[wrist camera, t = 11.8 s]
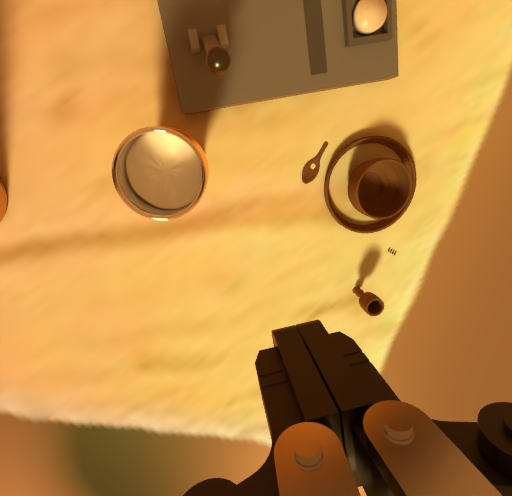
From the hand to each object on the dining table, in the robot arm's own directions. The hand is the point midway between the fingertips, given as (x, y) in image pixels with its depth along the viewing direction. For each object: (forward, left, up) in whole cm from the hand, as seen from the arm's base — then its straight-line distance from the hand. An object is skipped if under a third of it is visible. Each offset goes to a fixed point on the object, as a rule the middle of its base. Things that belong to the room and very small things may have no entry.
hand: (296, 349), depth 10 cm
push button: (+17, +16, -29) cm, 37 cm away
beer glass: (-5, +5, -31) cm, 32 cm away
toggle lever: (+1, +16, -29) cm, 33 cm away
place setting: (+15, -5, -32) cm, 36 cm away
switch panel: (+9, +16, -31) cm, 36 cm away
